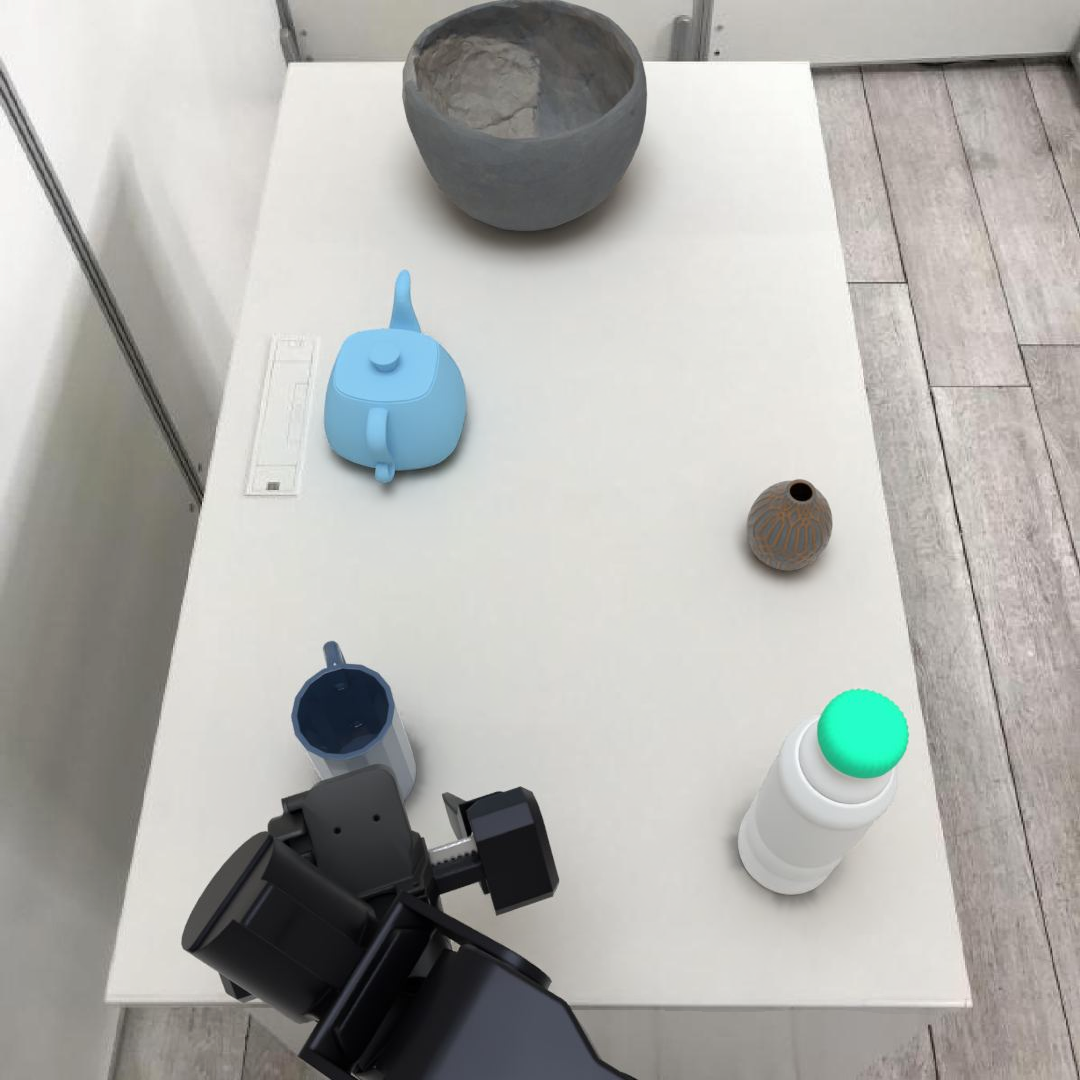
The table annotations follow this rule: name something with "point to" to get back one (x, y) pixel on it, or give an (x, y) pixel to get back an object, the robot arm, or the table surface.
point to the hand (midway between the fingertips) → (375, 822)
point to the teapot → (394, 395)
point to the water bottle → (823, 791)
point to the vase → (789, 525)
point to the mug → (351, 721)
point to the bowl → (525, 109)
